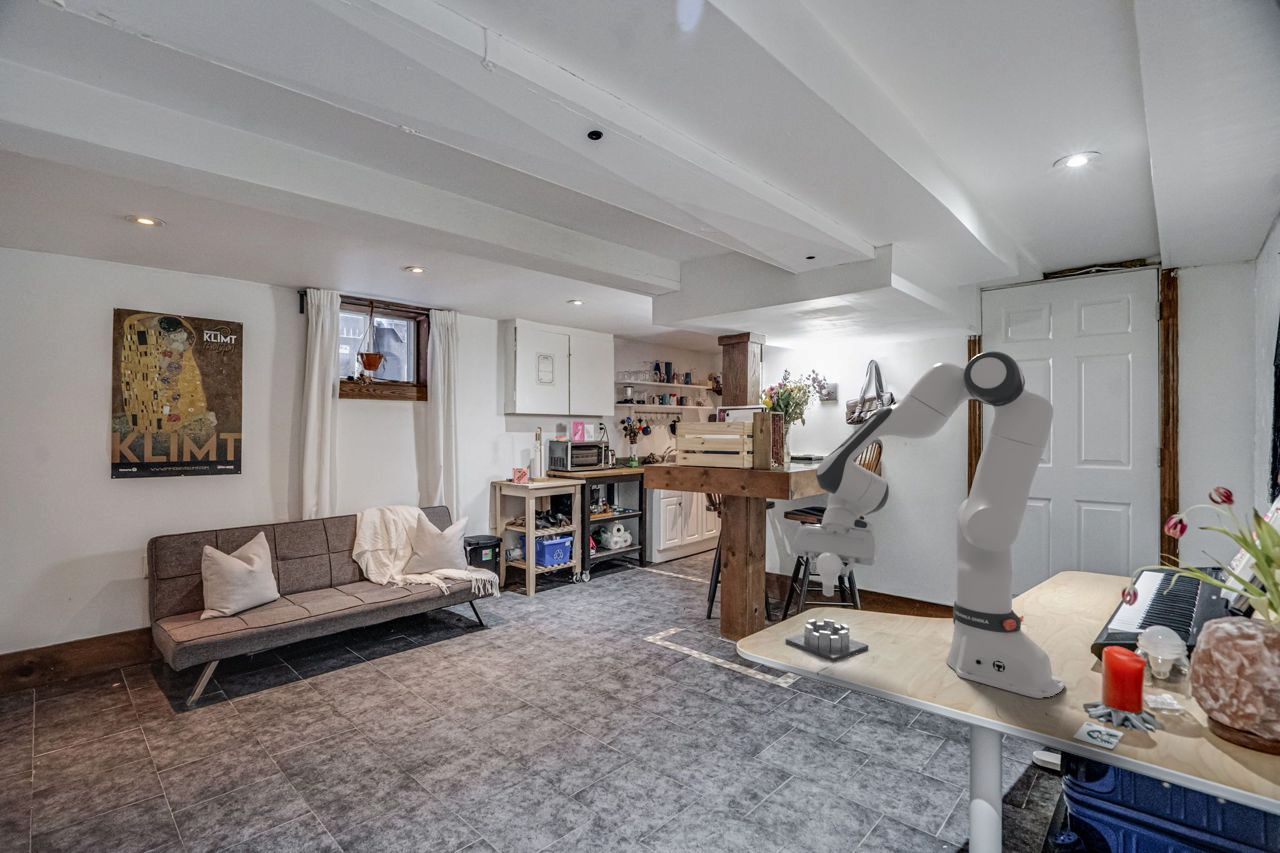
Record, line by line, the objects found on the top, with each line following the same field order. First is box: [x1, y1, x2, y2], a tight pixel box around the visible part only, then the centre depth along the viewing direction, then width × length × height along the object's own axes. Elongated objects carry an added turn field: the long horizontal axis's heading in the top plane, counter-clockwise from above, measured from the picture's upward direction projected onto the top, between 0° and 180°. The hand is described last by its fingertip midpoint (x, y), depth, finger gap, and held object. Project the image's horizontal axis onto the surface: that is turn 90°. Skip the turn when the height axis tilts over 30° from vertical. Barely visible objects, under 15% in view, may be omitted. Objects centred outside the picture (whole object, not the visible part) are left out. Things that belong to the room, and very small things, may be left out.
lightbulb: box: [815, 552, 844, 598], centre depth 147 cm, size 6×6×11 cm
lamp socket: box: [785, 618, 869, 663], centre depth 147 cm, size 14×14×5 cm
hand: (828, 572), depth 147 cm, fingers closed on lightbulb, 6 cm apart
